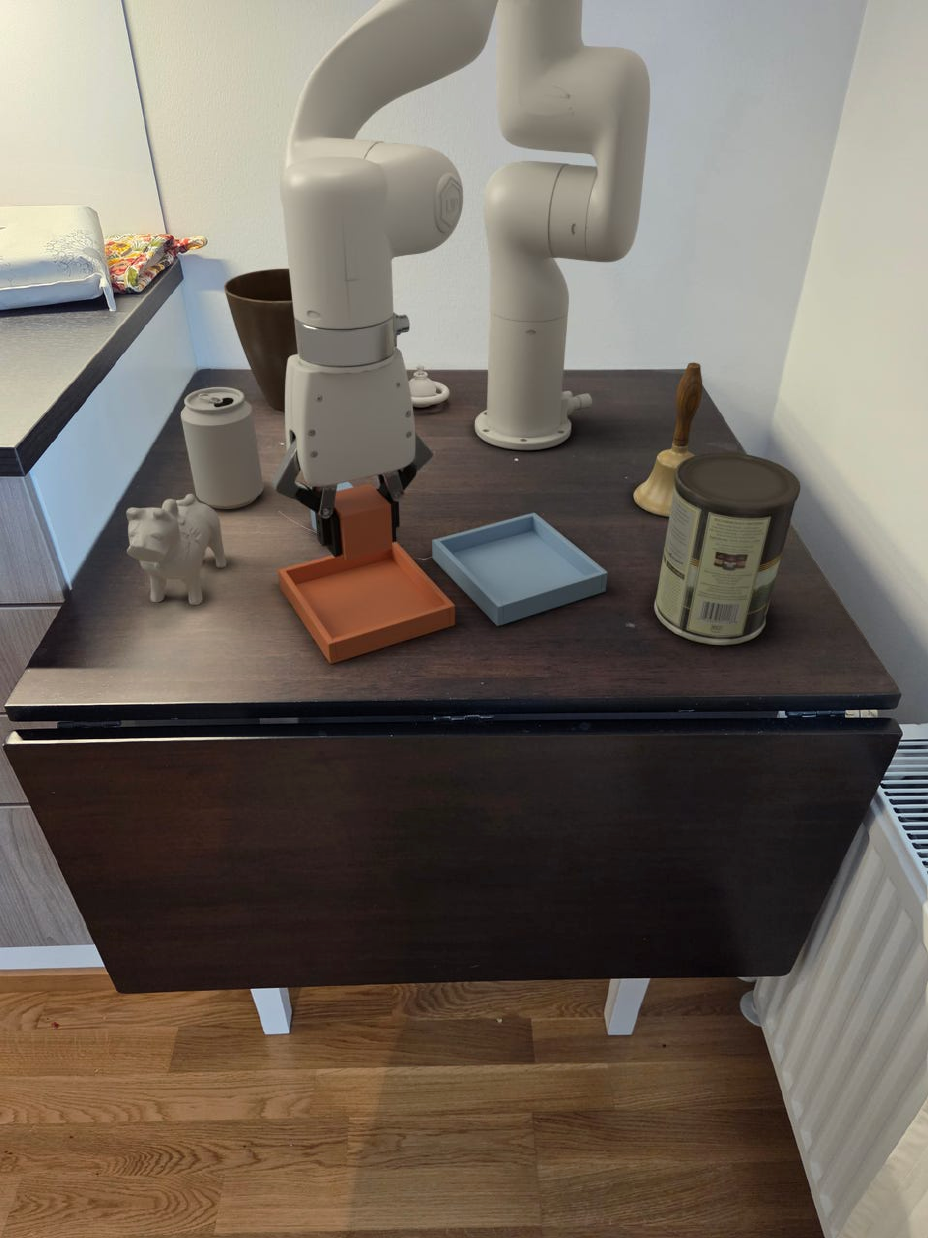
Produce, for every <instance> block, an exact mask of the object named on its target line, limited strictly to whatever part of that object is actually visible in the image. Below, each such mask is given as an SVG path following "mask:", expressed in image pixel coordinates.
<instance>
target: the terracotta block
mask: <svg viewBox="0 0 928 1238" xmlns="http://www.w3.org/2000/svg"><path fill="white" fill-rule="evenodd" d="M376 489H377V488H375V487H374V486H373V485H372V484H371V483H366V484H362V485H361V484H360V485H358V486H357V485H356V486H353V488H348V489H344V490H339V491H336V497H335V503H334V512H335V513H336V514H337V516H338V517H339V520H340V532H341V543H342V554H341V556H342V557H343V558H344V559H345V561H349V560H353V559H357V558H361V557H364V556H368V555H372V554H376V553H380V552H383V551H387V550H391V549H393V544H392V521H391V504H390V503H389V502H388V501H387V500H386V499H385V498H384V497H383V496H382V495H381V494H380V493H379V492H378V491H377V490H376Z"/></svg>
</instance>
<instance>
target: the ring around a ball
mask: <svg viewBox="0 0 928 1238" xmlns="http://www.w3.org/2000/svg"><path fill="white" fill-rule="evenodd" d="M416 370H417V371H415V372H414V373H413V374H412V375H413V378H411V379H410V380H408V382H409V387H410V392H411V399H412V406H413V408H428V407H430V406H431V405H436V404H440V403H443V402H444V401H446V400H448V398H449V397H450V394H451V393H450V389H449V388H448V386H447V385H445V384H443V383H442V382H439V381H434V380H431V379H430V378H428V375H429V374H428V373H427V372H426V371H424V370H425V367H424V365H423V364H418V365H417V366H416ZM437 391H439V392H440V393H437Z"/></svg>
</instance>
